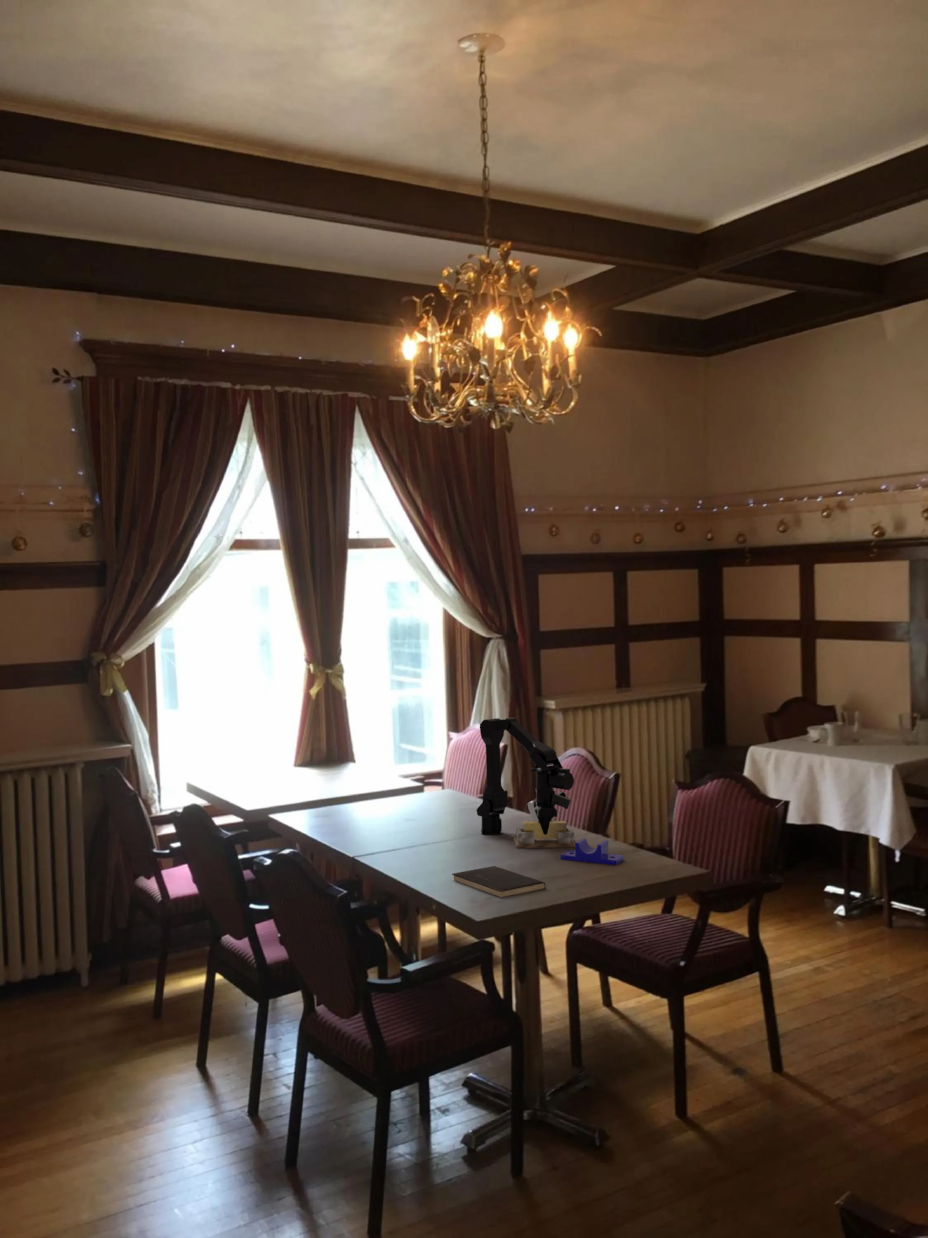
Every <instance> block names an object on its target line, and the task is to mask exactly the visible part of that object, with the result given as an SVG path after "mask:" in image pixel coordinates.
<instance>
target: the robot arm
mask: <svg viewBox="0 0 928 1238" xmlns="http://www.w3.org/2000/svg"><path fill="white" fill-rule="evenodd" d="M479 730H480V731H479V732H480V737H481V740H482V741H483V743H484V744H485V766H486V767H485V768H486V788H485V790H484V792H483V794H482V803H481V804H480V805H479V806H478V807H477V808H476V809H475V810H476V815H477V816H478V817H481V829H480V831H481V832H480V834H481V835H501V832H502V818H501V815H504V814H505V810H506V808H507V806H508V803H509V799H508V798H509V797H508V796H509V795H508V794H509V791H508V790H505V789H504V787H503V786H502V774H501V773H502V772H501V771H502V769H501V768H502V767H501V742H502V740H503V738H504V736H505V731H507V732H508V733H509V734H510V735H511V737H513V739H515V740H516V741H517V742H518V743H519V745H521V746H522V747H523V748H524V749H525V750H526V751H527V753H528V757H529V758H530V760H531V762H533V764H534V766H533V768H531V769H530V772H532V773H535V788H534V789H535V793H536V794H535V798H534V799H533V800H532V801H533V807H534V808H535V807H536V806H537V809H535V813H536V816H537V818H538V821H539V823H540V825H541V828H542V831H543V834H544V835H547V833H548V828H549V824H550V820H551V819H552V818H553V817H554V818H556V817H558V810H557V808H556V806H559V807H561V808H563V809H566V810H568V809H569V806H570V803H571V798H570V797H568V796H567V794H566V793H565V792H564V791H560V792H559V793H556V791H555V790H554V789H559V790H565V791H571V790H572V789H573V786H574V784H575V778H574V776H573V774H572V773H571V769H570V768H563V765H562V764H561V762H560V760H559V758H558V756H557V752H556V750H555V749H553V748H552V747H551V746H549V745H547V744H546V743H543V742H541V741H539V740H537V738H536V737H534V736H533V734H531V732H529V730H527V729H526V728H525V727H524V726H523V725H522V724H521V723H520V722H519V721H518V719H517V718H516V717H505V718H503V719H500V718H499V717H497V718H489V719H483V720H482V721H481V723H480V724H479Z"/></svg>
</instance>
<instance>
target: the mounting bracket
mask: <svg viewBox="0 0 928 1238" xmlns="http://www.w3.org/2000/svg"><path fill="white" fill-rule="evenodd" d="M587 841H588V840H587V838H584V837H582V838H580V839H579V840H577V841H576V843H575V847H574V849H575V850H570V849H568V850H566V851H565V852H563V853H561V854H560V860H563V861H573V862H582V863H583V862H585V863H592V864H602V865H611V866H617V865H618V864H620V863H622V861H624V855H623V854H622V855H621V854H612V853H609V840H605V839H604V840H602V842H600V843H598V844H597V847H596V848H594V847H591V846H590V845H589V844H588V842H587Z"/></svg>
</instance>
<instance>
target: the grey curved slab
mask: <svg viewBox="0 0 928 1238" xmlns="http://www.w3.org/2000/svg"><path fill="white" fill-rule="evenodd" d="M527 808H528V812H529V814H530V818H531V820H532V819H533V820H532V821H538V818H537V816H536V813H535V809H537V806H536V807H535V808H534V807H533V800H531V801H529V802H528V803H527ZM550 821H556V819H555V817H553V818H552V819H551V820H550Z"/></svg>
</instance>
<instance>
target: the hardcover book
mask: <svg viewBox="0 0 928 1238" xmlns="http://www.w3.org/2000/svg"><path fill="white" fill-rule="evenodd" d="M451 875H452V876H453V880H454V881H456V882H458V883H462V884H463V885H467V886H470V887H472V888H475V889H477V890H480V891H484V892H486V893H489V894H492V895H494V896H498V897H500V898H504V897H509V896H513V895H517V894H523V893H528V892H534V891H537V890H542V889H546V882H545V881H541V880H540V879H536V878H533V877H529V876H527V875H524V874H521V873H519V872H514V871H511V870H508V869H506V868H502V867H500V866H497V865H491V866H487V867H480V868H476V869H469V870H465V871H459V872H454V873H452V874H451Z"/></svg>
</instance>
